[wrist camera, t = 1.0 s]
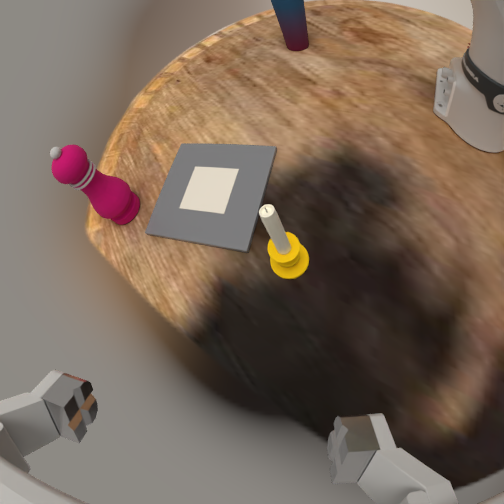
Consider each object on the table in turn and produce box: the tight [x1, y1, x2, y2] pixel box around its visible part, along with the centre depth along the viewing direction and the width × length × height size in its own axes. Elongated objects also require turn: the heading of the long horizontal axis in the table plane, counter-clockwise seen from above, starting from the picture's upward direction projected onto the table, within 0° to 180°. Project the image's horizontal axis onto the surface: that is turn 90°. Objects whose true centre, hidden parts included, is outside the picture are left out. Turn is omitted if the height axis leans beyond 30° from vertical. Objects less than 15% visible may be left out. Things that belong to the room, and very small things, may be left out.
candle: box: [259, 204, 309, 279], centre depth 34 cm, size 5×5×16 cm
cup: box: [271, 0, 309, 51], centre depth 50 cm, size 7×7×15 cm
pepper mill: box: [50, 145, 140, 225], centre depth 43 cm, size 7×7×20 cm
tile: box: [145, 144, 277, 253], centre depth 48 cm, size 18×18×1 cm
